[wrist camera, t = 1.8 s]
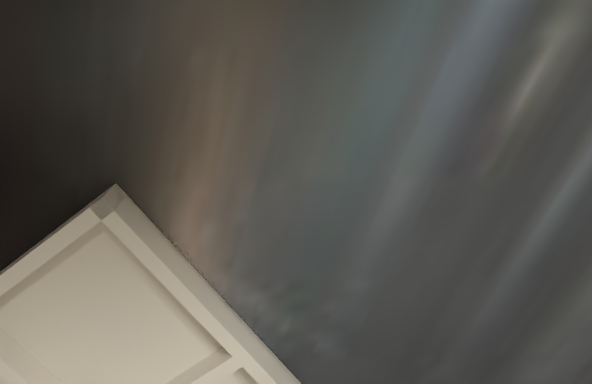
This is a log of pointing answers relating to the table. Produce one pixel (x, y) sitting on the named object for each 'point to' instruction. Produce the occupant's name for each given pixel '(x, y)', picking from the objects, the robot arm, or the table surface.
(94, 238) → the tray
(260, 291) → the table surface
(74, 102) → the table surface
